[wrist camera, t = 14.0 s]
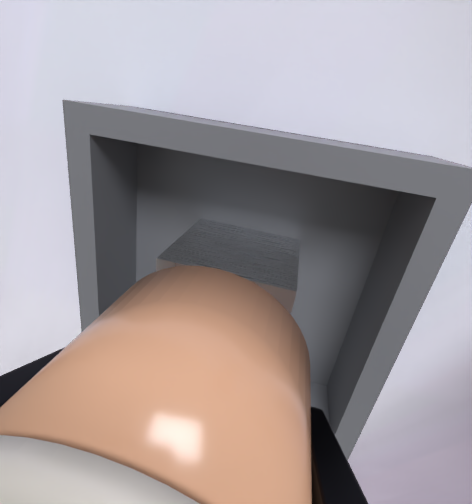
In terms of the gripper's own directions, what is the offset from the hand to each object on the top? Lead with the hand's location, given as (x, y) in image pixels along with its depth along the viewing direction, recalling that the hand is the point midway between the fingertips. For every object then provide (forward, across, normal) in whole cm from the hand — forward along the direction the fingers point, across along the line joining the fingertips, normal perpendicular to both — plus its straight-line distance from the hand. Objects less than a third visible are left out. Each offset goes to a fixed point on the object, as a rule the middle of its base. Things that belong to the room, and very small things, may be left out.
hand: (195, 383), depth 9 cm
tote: (+8, 0, 0) cm, 9 cm away
